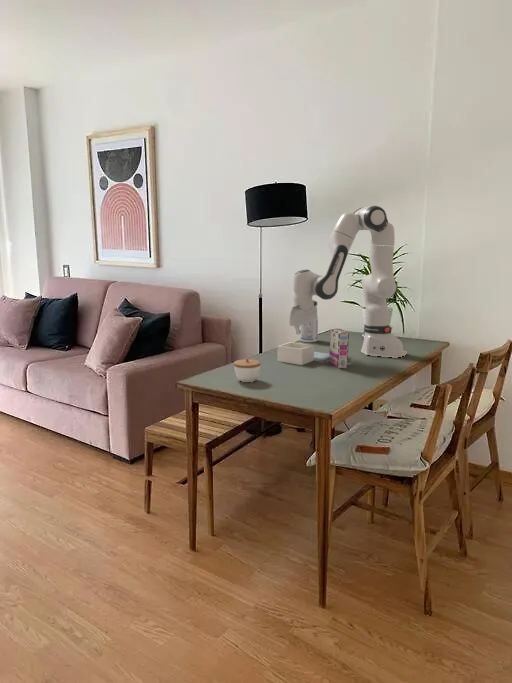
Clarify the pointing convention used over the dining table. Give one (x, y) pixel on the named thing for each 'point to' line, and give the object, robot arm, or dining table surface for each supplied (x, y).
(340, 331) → the candy bar box
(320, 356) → the lid
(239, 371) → the lidded jar
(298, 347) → the tub
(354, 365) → the dining table surface
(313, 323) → the supplement tub
